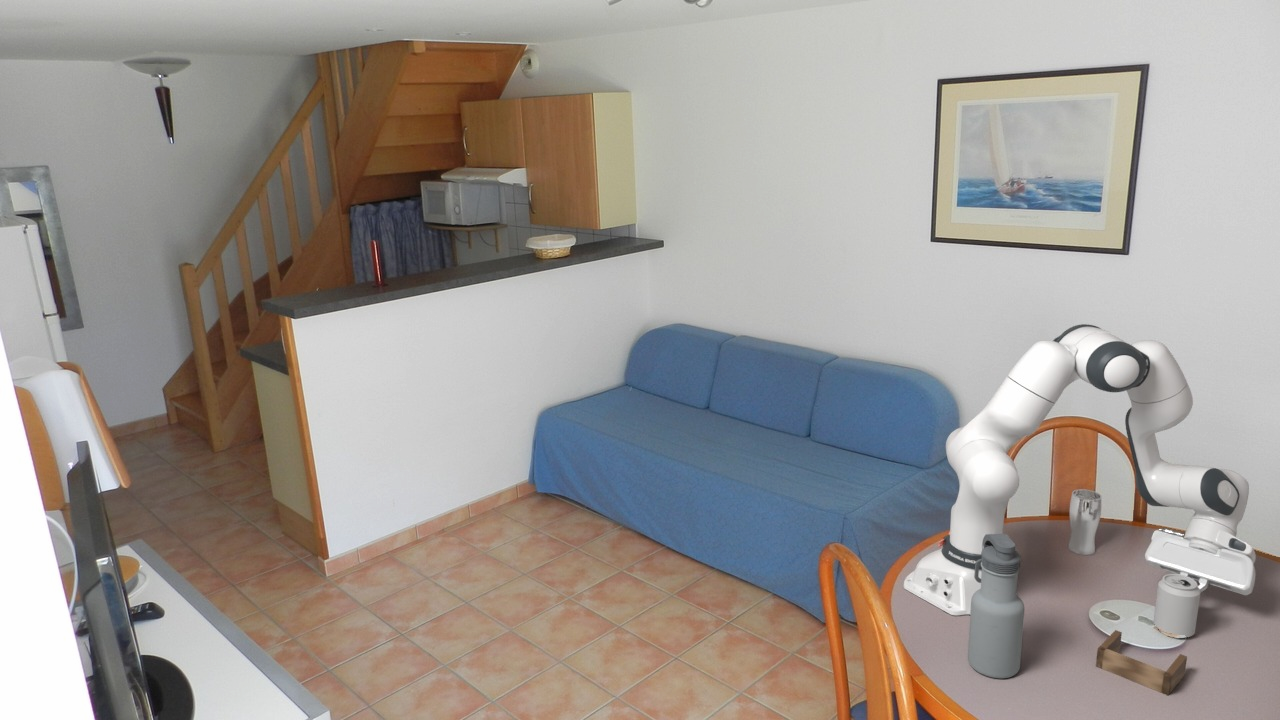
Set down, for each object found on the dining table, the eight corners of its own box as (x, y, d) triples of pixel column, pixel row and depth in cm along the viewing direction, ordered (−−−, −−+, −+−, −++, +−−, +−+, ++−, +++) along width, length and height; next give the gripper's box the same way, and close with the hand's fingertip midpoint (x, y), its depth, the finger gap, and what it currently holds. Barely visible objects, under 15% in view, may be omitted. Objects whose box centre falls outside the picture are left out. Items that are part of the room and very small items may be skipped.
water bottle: (960, 650, 178) (967, 527, 170) (1007, 649, 177) (1016, 526, 170) (977, 681, 168) (985, 552, 160) (1027, 679, 167) (1038, 550, 160)
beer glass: (1098, 546, 216) (1103, 491, 212) (1095, 558, 211) (1101, 502, 207) (1067, 540, 220) (1072, 486, 216) (1064, 552, 214) (1069, 497, 210)
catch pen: (1095, 666, 170) (1097, 648, 169) (1113, 647, 176) (1115, 630, 175) (1168, 695, 161) (1170, 677, 160) (1184, 674, 167) (1187, 656, 166)
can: (1200, 642, 176) (1207, 590, 173) (1160, 639, 178) (1167, 588, 175) (1186, 622, 183) (1192, 572, 180) (1147, 619, 185) (1153, 570, 182)
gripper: (1153, 519, 193) (1132, 574, 189) (1261, 549, 178) (1240, 609, 175) (1158, 531, 197) (1138, 584, 193) (1264, 561, 182) (1244, 620, 179)
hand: (1187, 596), depth 184 cm, fingers closed
